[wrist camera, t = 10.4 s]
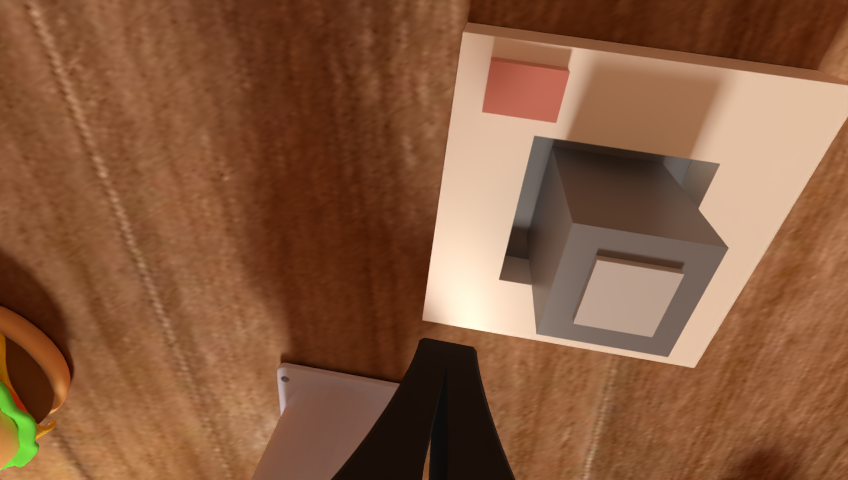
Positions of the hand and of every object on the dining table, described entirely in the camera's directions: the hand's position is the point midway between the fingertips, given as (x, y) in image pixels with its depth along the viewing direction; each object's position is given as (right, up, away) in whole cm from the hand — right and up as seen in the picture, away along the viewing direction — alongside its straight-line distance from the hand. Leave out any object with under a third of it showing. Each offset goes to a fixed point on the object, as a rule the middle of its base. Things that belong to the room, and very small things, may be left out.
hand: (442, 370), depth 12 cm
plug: (+6, +5, +7) cm, 11 cm away
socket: (+6, +5, +8) cm, 11 cm away
